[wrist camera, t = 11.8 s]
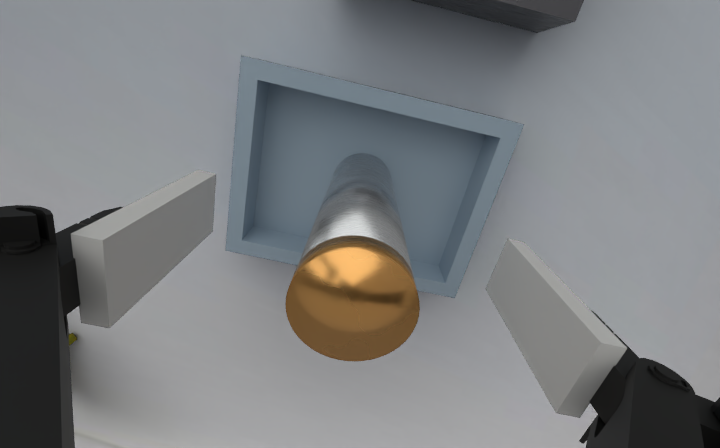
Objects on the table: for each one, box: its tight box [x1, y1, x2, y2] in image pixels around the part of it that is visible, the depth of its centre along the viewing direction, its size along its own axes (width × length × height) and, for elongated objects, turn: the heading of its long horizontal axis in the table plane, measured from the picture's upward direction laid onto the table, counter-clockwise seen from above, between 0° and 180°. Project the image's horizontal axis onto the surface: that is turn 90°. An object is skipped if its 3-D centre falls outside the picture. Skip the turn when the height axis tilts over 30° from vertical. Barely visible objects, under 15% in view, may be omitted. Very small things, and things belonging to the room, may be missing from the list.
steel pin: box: [286, 153, 420, 361], centre depth 17 cm, size 4×4×14 cm
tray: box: [226, 55, 524, 298], centre depth 22 cm, size 16×12×3 cm
